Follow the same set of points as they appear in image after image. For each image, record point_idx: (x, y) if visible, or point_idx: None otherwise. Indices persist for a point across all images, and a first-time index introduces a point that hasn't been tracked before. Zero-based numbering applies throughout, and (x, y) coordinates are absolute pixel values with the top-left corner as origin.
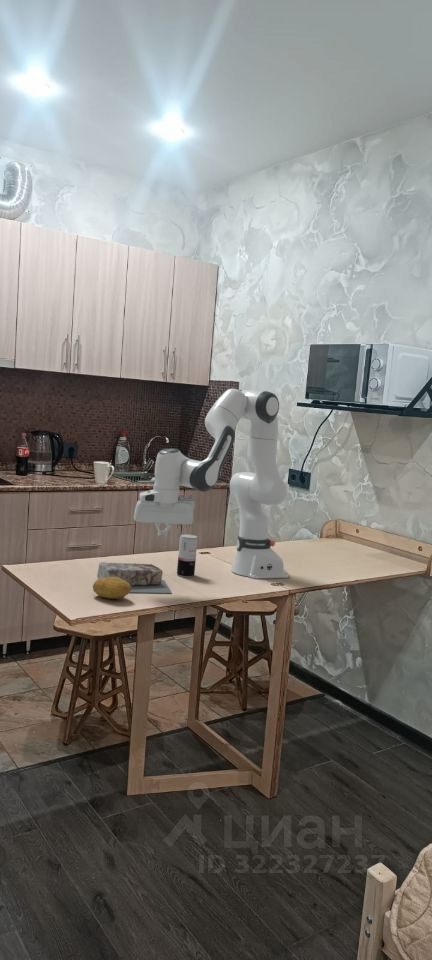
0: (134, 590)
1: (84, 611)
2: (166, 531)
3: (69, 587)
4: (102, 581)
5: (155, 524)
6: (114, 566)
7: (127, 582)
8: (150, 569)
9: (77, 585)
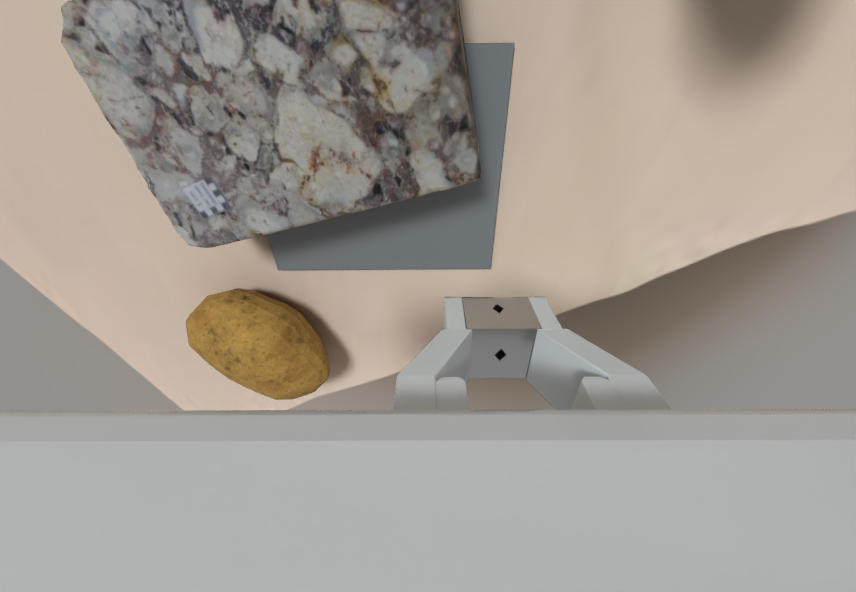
0: (348, 250)
1: None
2: (538, 378)
3: (86, 213)
4: (217, 369)
5: (396, 386)
6: (195, 154)
7: (308, 378)
8: (415, 151)
9: (102, 180)
